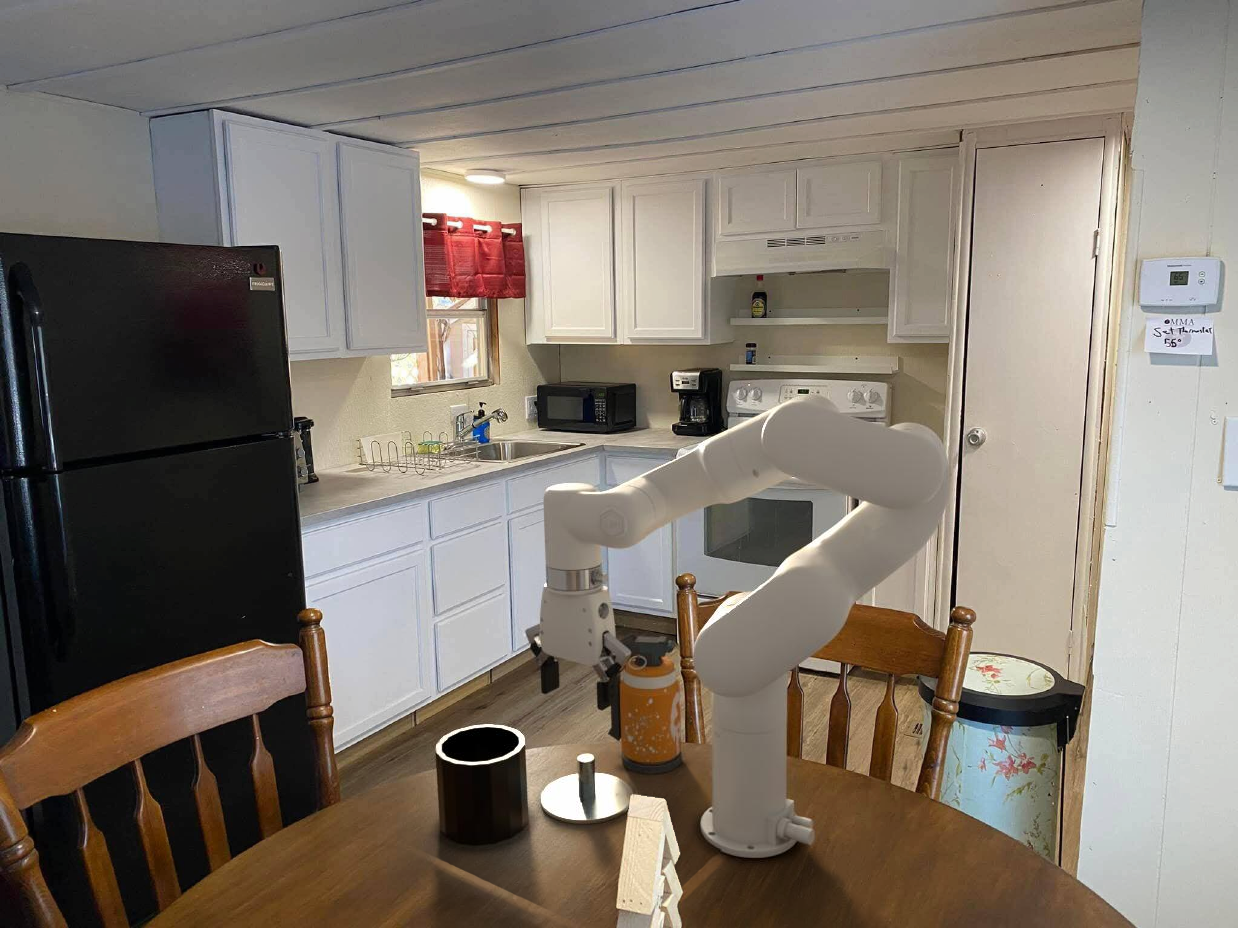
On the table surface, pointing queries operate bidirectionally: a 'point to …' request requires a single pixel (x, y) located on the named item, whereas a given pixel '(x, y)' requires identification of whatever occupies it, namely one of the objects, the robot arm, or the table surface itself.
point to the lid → (586, 795)
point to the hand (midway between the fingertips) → (577, 698)
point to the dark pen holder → (482, 784)
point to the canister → (648, 707)
